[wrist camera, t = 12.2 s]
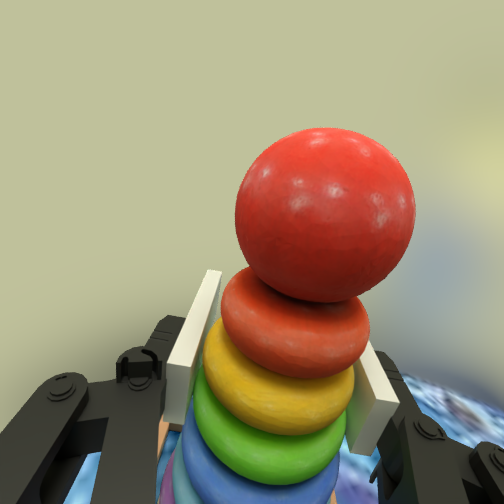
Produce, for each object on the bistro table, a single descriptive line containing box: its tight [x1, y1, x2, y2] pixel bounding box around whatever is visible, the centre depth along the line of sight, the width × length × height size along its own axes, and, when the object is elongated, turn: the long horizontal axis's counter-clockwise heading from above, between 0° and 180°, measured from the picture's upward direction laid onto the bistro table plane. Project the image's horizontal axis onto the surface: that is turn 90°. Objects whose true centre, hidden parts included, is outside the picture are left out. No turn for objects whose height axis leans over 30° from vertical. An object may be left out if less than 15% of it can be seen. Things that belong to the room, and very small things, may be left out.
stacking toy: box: [157, 128, 416, 504], centre depth 11 cm, size 8×8×19 cm
